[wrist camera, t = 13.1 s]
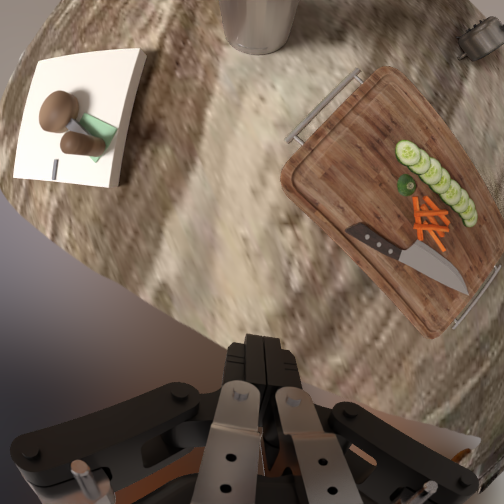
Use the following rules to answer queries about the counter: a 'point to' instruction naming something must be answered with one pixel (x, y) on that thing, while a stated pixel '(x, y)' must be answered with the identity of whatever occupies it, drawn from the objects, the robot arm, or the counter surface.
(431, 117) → the chopping board
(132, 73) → the white square slab
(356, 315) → the counter surface
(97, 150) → the crank handle
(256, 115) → the counter surface
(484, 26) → the alarm clock
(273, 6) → the robot arm
